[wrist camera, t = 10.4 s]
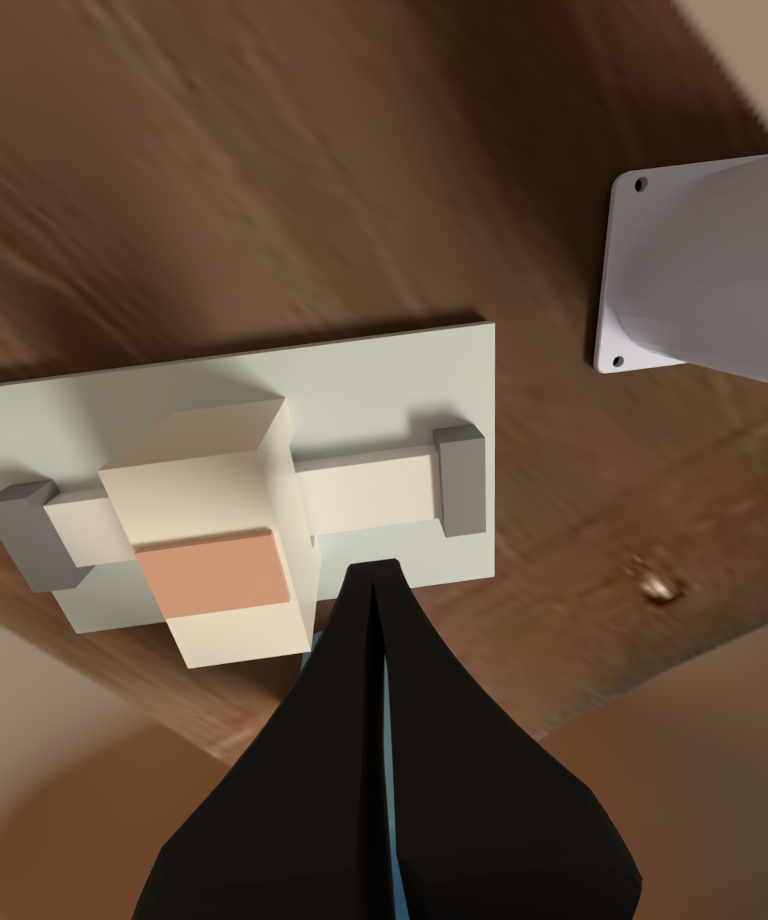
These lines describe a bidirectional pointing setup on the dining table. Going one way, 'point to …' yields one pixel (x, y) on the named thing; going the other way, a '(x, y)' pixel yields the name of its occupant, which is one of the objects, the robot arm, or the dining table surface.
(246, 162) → the dining table surface
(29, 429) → the rail board
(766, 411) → the dining table surface
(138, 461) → the block
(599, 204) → the dining table surface
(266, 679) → the dining table surface
